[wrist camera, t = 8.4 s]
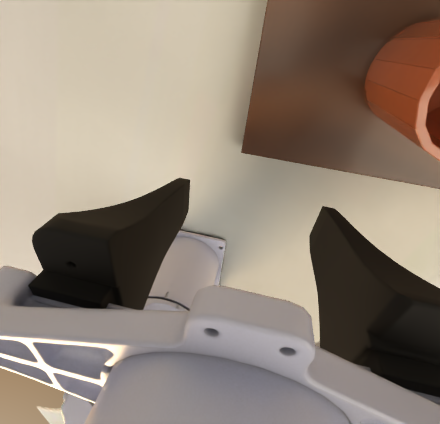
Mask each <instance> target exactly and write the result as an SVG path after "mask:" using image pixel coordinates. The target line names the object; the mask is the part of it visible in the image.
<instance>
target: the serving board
mask: <svg viewBox="0 0 440 424" xmlns="http://www.w3.org/2000/svg"><path fill="white" fill-rule="evenodd" d="M438 16H440V0H268V1H267V7H266V13H265V19H264V24H263V30H262V36H261V42H260V47H259V53H258V59H257V65H256V70H255V76H254V82H253V88H252V93H251V99H250V105H249V111H248V117H247V122H246V128H245V134H244V140H243V145H242V151H241V153H245V154H251V155H256V156H262V157H267V158H273V159H278V160H284V161H289V162H295V163H300V164H306V165H311V166H317V167H322V168H328V169H333V170H339V171H344V172H350V173H355V174H361V175H366V176H372V177H377V178H383V179H388V180H394V181H399V182H405V183H410V184H416V185H421V186H427V187H432V188H438V189H440V161H438V160H437V159H436V158H434V157H433V156H431V155H430V154H429V153H427V152H426V151H424V150H423V149H422V148H420V147H419V146H417V145H416V144H415V143H413V142H412V141H411V140H409V139H408V138H406V137H405V136H404V135H402V134H401V133H399V132H398V131H397V130H395V129H394V128H393V127H391V126H390V125H388V124H387V123H386V122H384V121H383V120H382V119H380V118H379V117H377V116H376V115H375V114H374V113H373V112H372V111H371V110H370V108H369V106H368V105H367V102H366V99H365V90H364V88H365V80H366V76H367V73H368V70H369V67H370V65H371V63H372V61H373V60H374V58H375V56H376V55H377V54H378V52H379V51H380V49H381V48H382V47H383V46H384V45H385V44H386V43H387V42H388V41H389V40H390V39H391V38H392V37H393V36H395V35H396V34H397V33H399V32H400V31H402V30H403V29H405V28H406V27H408V26H410V25H412V24H414V23H417V22H420V21H423V20H427V19H432V18H435V17H438Z"/></svg>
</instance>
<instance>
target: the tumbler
mask: <svg viewBox="0 0 440 424" xmlns="http://www.w3.org/2000/svg"><path fill="white" fill-rule="evenodd" d="M364 90H365V99H366V102H367V105H368V106H369V108H370V110H371V111H372V112H373V113H374V114H375V115H376V116H377V117H379V118H380V119H382V120H383V121H384V122H386V123H387V124H388V125H390V126H391V127H393V128H394V129H395V130H397V131H398V132H399V133H401V134H402V135H404V136H405V137H406V138H408V139H409V140H411V141H412V142H413V143H415V144H416V145H417V146H419V147H420V148H422V149H423V150H424V151H426V152H427V153H429V154H430V155H431V156H433V157H434V158H436V159H437V160H438V161H440V16H438V17H435V18H432V19H427V20H423V21H420V22H417V23H414V24H412V25H410V26H408V27H406V28H405V29H403V30H402V31H400V32H399V33H397V34H396V35H395V36H393V37H392V38H391V39H390V40H389V41H388V42H387V43H386V44H385V45H384V46H383V47H382V48H381V49H380V51H379V52H378V54H377V55H376V56H375V58H374V60H373V61H372V63H371V65H370V67H369V70H368V73H367V76H366V80H365V88H364Z"/></svg>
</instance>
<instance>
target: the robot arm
mask: <svg viewBox="0 0 440 424" xmlns="http://www.w3.org/2000/svg"><path fill="white" fill-rule="evenodd" d="M189 190H190V180H188V179H183V178H178V179H176V180H174V181H172V182H170V183H168V184H166V185H165V186H163V187H161V188H159V189H157V190H155V191H153V192H150V193H148V194H146V195H144V196H142V197H139V198H137V199H134V200H131V201H128V202H125V203H121V204H117V205H114V206H110V207H105V208H100V209H95V210H88V211H81V212H70V213H58V214H57V215H56V216H54V217H53V218H52V219H51V220H49V221H48V222H47V223H46V224H44V225H43V226H42V227H40V228H39V229H38V230H37V231H35V233H34V234H33V237H32V243H33V247H34V250H35V252H36V254H37V257H38V259H39V261H40V263H41V265H42V268H43V271H42V272H41V273H40V274H39V275H38V276H36V275H35V274H33V273H32V272H29V271H26V270H22V269H18V268H13V267H9V266H3V267H2V268H1V269H0V368H3V369H6V370H9V371H12V372H15V373H18V374H21V375H23V376H26V377H28V378H31V379H34V380H36V381H39V382H41V383H44V384H46V385H49V386H52V387H54V388H57V389H59V390H62V391H64V392H65V393H64V395H63V400H64V402H63V404H62V406H61V412H62V416H63V420H64V423H65V424H440V288H438V287H436V286H434V285H432V284H430V283H429V282H427V281H425V280H423V279H422V278H420V277H418V276H416V275H415V274H413V273H411V272H410V271H408V270H407V269H405V268H404V267H402V266H401V265H399V264H398V263H396V262H395V261H393V260H392V259H391V258H389V257H388V256H387V255H385V254H384V253H383V252H381V251H380V250H379V249H377V248H376V247H375V246H374V245H373V244H371V243H370V242H369V241H368V240H367V239H366V238H365V237H364V236H363V235H361V234H360V233H359V232H358V231H357V230H356V229H355V228H354V227H353V226H352V225H351V224H350V223H349V222H348V221H347V220H346V219H345V218H344V217H343V216H342V215H341V214H340V213H339V212H338V211H337V210H336V209H334V208H329V207H324V206H323V207H322V209H321V211H320V213H319V216H318V218H317V220H316V222H315V225H314V227H313V229H312V231H311V234H310V254H311V260H312V265H313V270H314V275H315V280H316V286H317V292H318V304H319V322H320V347H318V346H316V345H315V342H314V335H313V327H312V319H311V316H310V315H309V313H308V312H307V311H306V310H305V309H304V308H303V307H301V306H299V305H297V304H295V303H292V302H290V301H286V300H282V299H278V298H274V297H269V296H265V295H261V294H256V293H252V292H248V291H243V290H239V289H235V288H231V287H226V286H219V280H220V275H221V269H222V263H223V258H224V252H225V246H226V242H225V240H223V239H218V238H213V237H209V236H204V235H199V234H195V233H190V232H185V231H181V230H180V229H181V227H182V225H183V223H184V221H185V218H186V215H187V213H188V209H189ZM220 246H222V247H220Z"/></svg>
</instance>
